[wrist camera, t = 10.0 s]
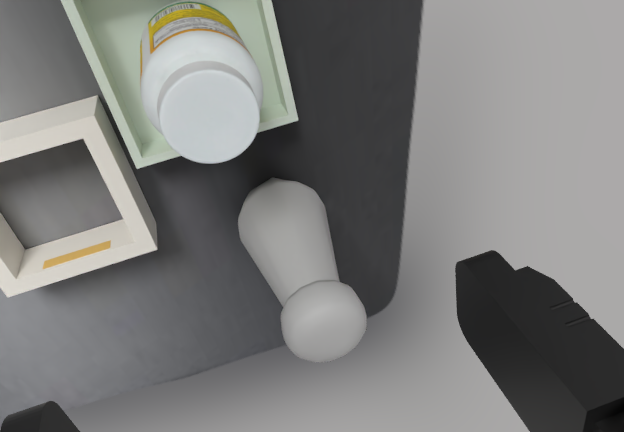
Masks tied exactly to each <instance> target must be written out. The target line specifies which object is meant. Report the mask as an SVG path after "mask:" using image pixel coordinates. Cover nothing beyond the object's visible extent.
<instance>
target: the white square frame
mask: <svg viewBox="0 0 624 432" xmlns="http://www.w3.org/2000/svg"><path fill="white" fill-rule="evenodd" d="M79 139H84V141H85V143H86V145H87V147H88V149H89V151H90V153H91V155H92V157H93V159H94V161H95V163H96V165H97V167H98V169H99V171H100V173H101V175H102V177H103V179H104V181H105V183H106V185H107V187H108V189H109V191H110V193H111V195H112V197H113V199H114V201H115V203H116V205H117V207H118V209H119V211H120V213H121V215H122V217H123V219H122V220H119V221H116V222H113V223H109V224H106V225H103V226H100V227H96V228H93V229H90V230H87V231H84V232H80V233H77V234H74V235H71V236H67V237H64V238H61V239H58V240H55V241H51V242H48V243H45V244H42V245H38V246H35V247H32V248H29V249H26V250H25V249H24V247H23V246H22V244H21V243H20V241H19V240H18V238H17V237H16V235H15V234H14V232H13V231H12V229H11V228H10V226H9V225H8V223H7V222H6V220H5V219H4V217H3V216H2V214H1V213H0V288H1V289H2V291H3V292H4V293H5V295H6V296H7V297H11V296H14V295H17V294H20V293H23V292H26V291H29V290H33V289H36V288H39V287H42V286H45V285H48V284H51V283H54V282H58V281H61V280H64V279H67V278H70V277H73V276H76V275H79V274H83V273H86V272H89V271H92V270H95V269H98V268H101V267H105V266H108V265H111V264H114V263H117V262H120V261H123V260H126V259H130V258H133V257H136V256H139V255H142V254H145V253H148V252H152V251H155V250H158V247H157V226H156V221H155V219H154V217H153V214H152V212H151V210H150V208H149V206H148V204H147V201H146V199H145V197H144V195H143V193H142V190H141V188H140V186H139V184H138V182H137V180H136V177H135V175H134V173H133V171H132V169H131V166H130V164H129V162H128V160H127V158H126V156H125V153H124V151H123V149H122V147H121V145H120V142H119V140H118V138H117V136H116V134H115V132H114V129H113V127H112V125H111V123H110V121H109V118H108V116H107V114H106V112H105V110H104V108H103V105H102V103H101V101H100V99H99V97H98V95H96V96H93V97H89V98H86V99H82V100H79V101H75V102H72V103H68V104H65V105H61V106H57V107H54V108H50V109H47V110H43V111H40V112H36V113H33V114H29V115H26V116H22V117H18V118H15V119H11V120H8V121H4V122H1V123H0V162H4V161H7V160H10V159H14V158H17V157H21V156H24V155H28V154H31V153H35V152H38V151H41V150H45V149H48V148H52V147H55V146H59V145H62V144H66V143H69V142H72V141H76V140H79Z"/></svg>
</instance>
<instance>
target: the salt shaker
mask: <svg viewBox="0 0 624 432" xmlns="http://www.w3.org/2000/svg"><path fill="white" fill-rule="evenodd" d="M238 227H239V234H240V240H241V242H242V243H243V245H244V246H245V248H246V249H247V251H248V253H249V254H250V256H251V257H252V259H253V260H254V262H255V263H256V265H257V267H258V268H259V270H260V271H261V273H262V274H263V276H264V278H265V279H266V281H267V282H268V284H269V285H270V287H271V289H272V290H273V292H274V293H275V295H276V296H277V298H278V300H279V301H280V303H281V304H282V306H283V307H284V308H283V310H282V312H281V326H282V333H283V337H284V340H285V342H286V344H287V346H288V347H289V348H290V350H291V351H292V352H293V353H294V354H295V355H296V356H297V357H298V358H301V359H304V360H308V361H311V362H316V363H319V362H329V361H333V360H336V359H338V358H341V357H343V356H345V355H347V354H348V353H349V352H350V351H351V350H353V349H354V348H355V347H356V346H357V344H358V343H359V342H360V340H361V338H362V336H363V335H364V333H365V331H366V330H367V325H366V324H367V323H366V322H367V316H366V312H365V308H364V306H363V304H362V303H361V301H360V299H359V298H358V296H357V295H356V293H355V292H354V291H353V289H352V288H351V287H350V286H348V285H346V284H344V283H341V282H340V281H339V277H338V272H337V267H336V261H335V256H334V251H333V246H332V241H331V235H330V230H329V225H328V220H327V215H326V209H325V206H324V204H323V202H322V201H321V199H320V198H319V196H318V195H317V193H316V192H315V191H314V190H313V189H312V188H310V187H308V186H306V185H304V184H301V183H299V182H297V181H288V180H282V179H278V178H274V177H272V178H270V179H269V180H267V181H266V182H264V183H262V184H261V185H259V186H258V187H256V188H255V189H253V190H251V191H250V192H249V194H248V195H247V197H246V199H245V201H244V203H243V206H242V209H241V212H240V215H239V217H238Z"/></svg>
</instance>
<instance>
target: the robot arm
mask: <svg viewBox="0 0 624 432" xmlns="http://www.w3.org/2000/svg"><path fill="white" fill-rule="evenodd" d="M455 269H456V270H455V272H456V298H457V299H456V300H457V316H458V321H459V324H460V327H461V330H462V332H463V334H464V336H465V338H466V340H467V342H468V343H469V345H470V346H471V348H472V349H473V350H474V352H475V353H476V355H477V356H478V358H479V359H480V360H481V362H482V363H483V365H484V366H485V368H486V369H487V371H488V372H489V373H490V375H491V376H492V378H493V379H494V381H495V382H496V383H497V385H498V386H499V388H500V389H501V391H502V392H503V393H504V395H505V396H506V398H507V399H508V401H509V402H510V404H511V405H512V407H513V408H514V409H515V411H516V412H517V414H518V415H519V417H520V418H521V419H522V421H523V422H524V424H525V425H526V427H527V428H528V430H529V431H530V432H624V349H623V348H622V347H621V346H620V345H619V344H618V343H617V342H616V341H615V340H614V339H613V338H612V337H611V336H610V335H609V334H608V333H607V332H606V331H605V330H604V329H603V328H602V327H601V326H600V325H599V324H598V323H597V322H596V321H595V320H594V319H590V317H589V315H588V313H587V312H586V311H585V310H584V309H583V308H582V307H581V306H580V305H579V304H578V303H575V302H574V301H573V298H572V297H571V296H570V295H569V294H568V293H567V292H566V291H565V290H564V289H563V288H562V287H561V286H560V285H559V284H558V283H557V282H556V281H555V280H554V279H552V278H549V277H548V276H546V275H544V274H542V273H539V272H538V271H536V270H534V269H532V268H530V267H528V266H527V267H524V268H521V269H518V270H516V271H515V270H514V269H513V268H512V267H511V266H510V265H509V264H508V262H507V261H505V259H504V258H503V257H502V256H501V255H500V254H499V253H497V252H496V251H492V250H491V251H488V252H485V253H483V254H480V255H477V256H474V257H471V258H468V259H465V260H462V261H459V262H457V264H456V268H455ZM0 432H80V431H79V430H78V429H77V427H76V426H75V425H74V424H73V423H72V421H71V420H70V419H69V417H68V416H67V415H66V414H65V413H64V411H63V410H62V409H61V408H60V406H59V405H58V404H57V403H55V402H53V401H49V402H46V403H43V404H40V405H37V406H34V407H31V408H28V409H25V410H23V411H20V412H17V413H14V414H11V415H8V416H7V417H6V418H5V419H4V421H3V423H2V426H1V430H0Z"/></svg>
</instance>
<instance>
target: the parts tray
mask: <svg viewBox="0 0 624 432" xmlns="http://www.w3.org/2000/svg"><path fill="white" fill-rule="evenodd" d="M177 1H183V0H61V2H62V4H63V7H64V9H65V11H66V13H67V15H68V18H69V20H70V22H71V24H72V27H73V29H74V31H75V33H76V35H77V38H78V40H79V42H80V44H81V46H82V49H83V51H84V53H85V55H86V58H87V60H88V62H89V64H90V66H91V69H92V71H93V73H94V75H95V77H96V80H97V82H98V84H99V86H100V89H101V91H102V93H103V95H104V97H105V100H106V102H107V104H108V106H109V108H110V111H111V113H112V115H113V117H114V120H115V122H116V124H117V126H118V128H119V131H120V133H121V135H122V137H123V140H124V142H125V144H126V146H127V148H128V151H129V153H130V155H131V157H132V159H133V162H134V164H135V166H136V168H137V169H138V168H142V167H145V166H148V165H152V164H155V163H158V162H162V161H165V160H168V159H172V158H175V157H178V156H181V155H180V154H178V153H177V152H176V151H175V150H174V149H172V147H171V146H170V145H169V144H168V143H167V141H166V140H165V138H164V136H163V135H162V134H160V133H159V132H158V131H157V129H156V128H155V127H154V126H153V125H152V123H151V122H150V120H149V118H148V117H147V114H146V112H145V110H144V107H143V104H142V99H141V92H140V43H141V37H142V33H143V30H144V28H145V26H146V24H147V22H148V21H149V19H150V18H151V17H152V16H153V15H154V14H155V13H156V12H157V11H158V10H159V9H161V8H162V7H164V6H166V5H168V4H170V3H173V2H177ZM193 1H199V2H203V3H206V4H209V5H211V6H213V7H215V8H216V9H218V10H219V11H221V12H222V13H223V14H224V15H226V17H227V18H228V19H229V20H230V21H231V22H232V24H233V26H234V27H235V28H236V30H237V32H238V34H239V36H240V37H241V39H242V41H243V42H244V44H245V46H246V47H247V49H248V51H249V52H250V54H251V56H252V57H253V59H254V61H255V63H256V65H257V66H258V69H259V71H260V74H261V78H262V83H263V102H262V107H261V110H260V122H259V128H258V131H257V133H258V132H262V131H265V130H268V129H272V128H275V127H278V126H282V125H285V124H288V123H291V122H295V121H298V116H297V112H296V107H295V103H294V98H293V94H292V89H291V85H290V81H289V76H288V72H287V67H286V63H285V58H284V54H283V50H282V45H281V41H280V36H279V32H278V27H277V23H276V19H275V14H274V10H273V5H272V1H271V0H193Z"/></svg>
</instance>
